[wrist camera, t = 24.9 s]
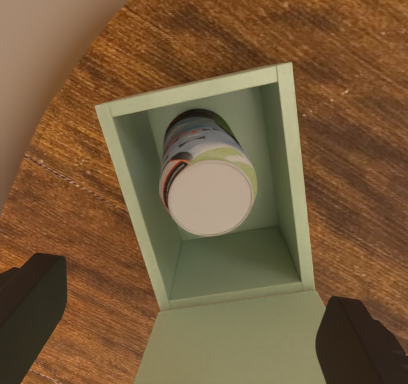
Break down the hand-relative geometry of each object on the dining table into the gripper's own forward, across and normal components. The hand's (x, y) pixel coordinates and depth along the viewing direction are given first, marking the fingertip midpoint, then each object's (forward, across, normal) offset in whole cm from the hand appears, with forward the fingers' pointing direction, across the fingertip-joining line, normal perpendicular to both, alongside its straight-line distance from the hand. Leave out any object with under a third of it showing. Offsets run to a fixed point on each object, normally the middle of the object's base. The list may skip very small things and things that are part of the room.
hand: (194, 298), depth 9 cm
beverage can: (+20, 0, 0) cm, 21 cm away
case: (+21, -1, +2) cm, 21 cm away
